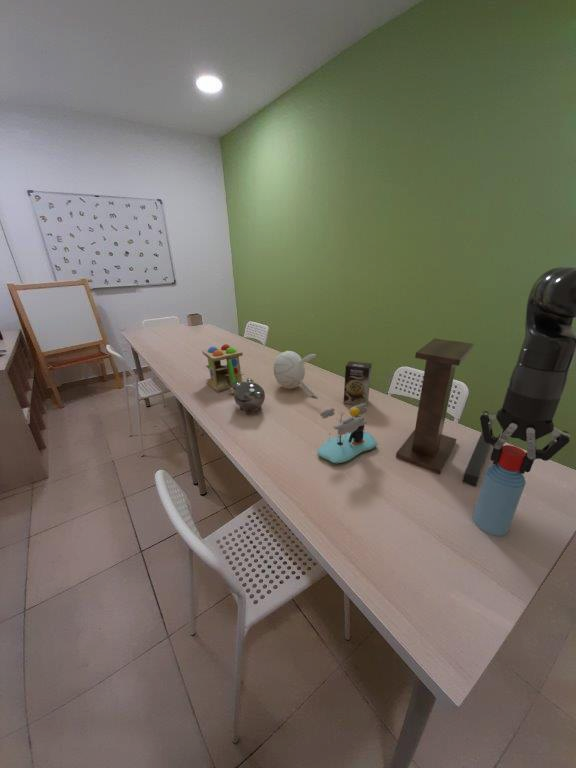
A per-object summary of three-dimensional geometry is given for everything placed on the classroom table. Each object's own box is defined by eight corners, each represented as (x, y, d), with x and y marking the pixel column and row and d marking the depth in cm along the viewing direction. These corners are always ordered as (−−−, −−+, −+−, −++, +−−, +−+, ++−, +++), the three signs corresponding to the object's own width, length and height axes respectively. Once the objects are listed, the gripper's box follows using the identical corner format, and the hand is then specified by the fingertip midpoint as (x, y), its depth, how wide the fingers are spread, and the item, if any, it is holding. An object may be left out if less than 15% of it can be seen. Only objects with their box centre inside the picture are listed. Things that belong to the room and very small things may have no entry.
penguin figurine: (360, 431, 101) (363, 390, 94) (384, 447, 92) (389, 404, 86) (310, 450, 92) (310, 407, 86) (332, 470, 83) (333, 423, 77)
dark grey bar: (491, 443, 93) (493, 434, 91) (475, 486, 76) (478, 477, 75) (480, 439, 94) (482, 431, 93) (462, 481, 78) (464, 472, 77)
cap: (495, 465, 59) (499, 452, 58) (498, 455, 62) (503, 442, 61) (520, 474, 57) (525, 460, 56) (522, 463, 60) (527, 450, 58)
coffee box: (342, 403, 119) (344, 365, 113) (346, 396, 125) (348, 360, 118) (366, 407, 116) (369, 368, 110) (368, 400, 122) (372, 362, 115)
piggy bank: (251, 398, 126) (249, 373, 121) (273, 411, 115) (271, 384, 111) (228, 407, 119) (224, 381, 115) (248, 421, 109) (246, 393, 104)
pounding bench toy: (254, 391, 133) (251, 352, 126) (224, 399, 126) (219, 359, 119) (234, 375, 151) (230, 340, 144) (206, 382, 144) (201, 346, 137)
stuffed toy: (262, 352, 132) (303, 356, 114) (285, 347, 141) (326, 350, 123) (266, 393, 137) (305, 403, 119) (287, 386, 146) (327, 394, 128)
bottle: (509, 520, 66) (535, 451, 59) (506, 541, 62) (532, 469, 54) (475, 506, 70) (495, 440, 63) (469, 525, 66) (490, 455, 58)
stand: (455, 443, 93) (479, 343, 80) (439, 474, 81) (464, 361, 68) (416, 430, 100) (431, 337, 87) (395, 457, 88) (410, 352, 75)
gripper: (484, 386, 54) (464, 462, 61) (591, 408, 46) (554, 494, 53) (490, 373, 60) (472, 445, 67) (588, 391, 51) (555, 471, 58)
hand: (508, 466), depth 60 cm, fingers closed on cap, 3 cm apart
